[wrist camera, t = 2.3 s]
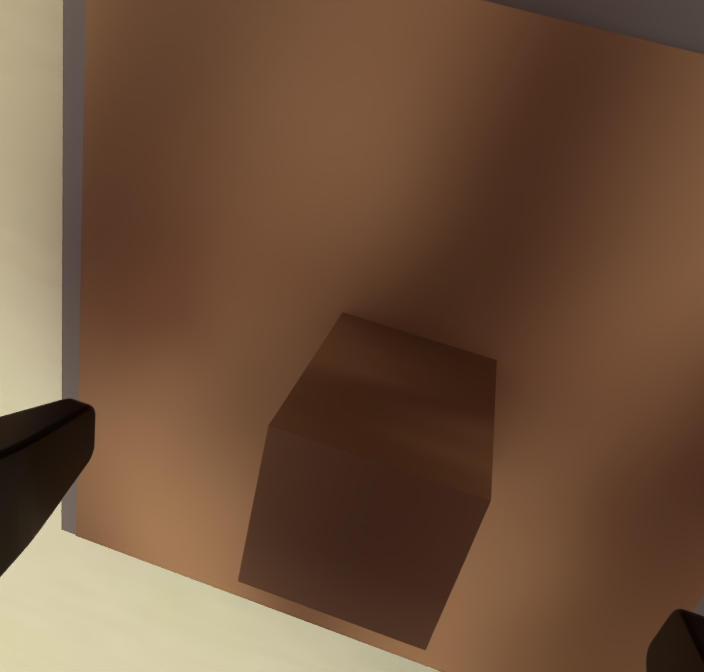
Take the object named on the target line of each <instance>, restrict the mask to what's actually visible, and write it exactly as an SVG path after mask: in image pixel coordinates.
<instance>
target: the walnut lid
mask: <svg viewBox="0 0 704 672" xmlns="http://www.w3.org/2000/svg"><path fill="white" fill-rule="evenodd" d="M78 401H81V402H84V403H87V404H90V405H91V406H92V407H93V408H94V409H95V414H96V419H95V446H94V451H93V454H92V457H91V459H90V461H89V462H88V464H87V465H86V467H85V468H84V469H83V471H82V472H81V474H80V475H79V476H78V478H77V500H76V536H78V537H81V538H84V539H86V540H89V541H92V542H94V543H97V544H100V545H103V546H105V547H108V548H111V549H113V550H116V551H119V552H121V553H124V554H127V555H129V556H132V557H135V558H138V559H140V560H143V561H146V562H148V563H151V564H154V565H156V566H159V567H162V568H164V569H167V570H170V571H172V572H175V573H178V574H181V575H183V576H186V577H189V578H191V579H194V580H197V581H199V582H202V583H205V584H207V585H210V586H213V587H215V588H218V589H221V590H224V591H226V592H229V593H232V594H234V595H237V596H240V597H242V598H245V599H248V600H250V601H253V602H256V603H258V604H261V605H264V606H267V607H269V608H272V609H275V610H277V611H280V612H283V613H285V614H288V615H291V616H293V617H296V618H299V619H301V620H304V621H307V622H310V623H312V624H315V625H318V626H320V627H323V628H326V629H328V630H331V631H334V632H336V633H339V634H342V635H345V636H347V637H350V638H353V639H355V640H358V641H361V642H363V643H366V644H369V645H371V646H374V647H377V648H379V649H382V650H385V651H388V652H390V653H393V654H396V655H398V656H401V657H404V658H406V659H409V660H412V661H414V662H417V663H420V664H422V665H425V666H428V667H431V668H433V669H436V670H439V671H441V672H646V655H647V650H648V647H649V645H650V643H651V641H652V640H653V638H654V637H655V635H656V634H657V633H658V631H659V630H660V628H661V627H662V625H663V624H664V622H665V621H666V620H667V618H668V617H669V615H670V614H671V613H672V612H673V611H674V610H676V609H685V610H687V611H690V612H692V611H693V609H694V608H695V606H696V605H697V604H698V602H699V601H700V600H701V598H702V597H703V595H704V54H700V53H696V52H691V51H687V50H683V49H679V48H675V47H671V46H667V45H663V44H659V43H655V42H651V41H647V40H643V39H638V38H634V37H630V36H626V35H622V34H618V33H614V32H610V31H606V30H602V29H598V28H594V27H590V26H585V25H581V24H577V23H573V22H569V21H565V20H561V19H557V18H553V17H549V16H545V15H541V14H536V13H532V12H528V11H524V10H520V9H516V8H512V7H508V6H504V5H500V4H496V3H492V2H488V1H483V0H86V6H85V61H84V116H83V171H82V226H81V280H80V335H79V390H78Z"/></svg>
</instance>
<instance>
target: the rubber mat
mask: <svg viewBox="0 0 704 672" xmlns="http://www.w3.org/2000/svg"><path fill="white" fill-rule="evenodd" d="M483 1H488V2H492V3H496V4H500V5H504V6H508V7H512V8H516V9H520V10H524V11H528V12H532V13H536V14H541V15H545V16H549V17H553V18H557V19H561V20H565V21H569V22H573V23H577V24H581V25H585V26H590V27H594V28H598V29H602V30H606V31H610V32H614V33H618V34H622V35H626V36H630V37H634V38H638V39H643V40H647V41H651V42H655V43H659V44H663V45H667V46H671V47H675V48H679V49H683V50H687V51H691V52H696V53H700V54H704V0H483ZM85 6H86V0H63V239H62V400H63V399H67V398H71V399H75V400H78V390H79V335H80V280H81V226H82V171H83V116H84V61H85ZM76 500H77V479H76V481H75V482H74V483H73V485H72V486H71V488H70V489H69V490H68V492H67V493H66V495H65V496H64V497H63V499H62V530H65V531H68V532H70V533H73V534H76ZM692 612H693V613H696V614H699V615H702V616H704V595H703V597H702V598H701V600H700V601H699V602H698V604H697V605H696V606H695V608H694V609H693V611H692Z"/></svg>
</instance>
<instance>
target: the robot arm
mask: <svg viewBox="0 0 704 672" xmlns="http://www.w3.org/2000/svg"><path fill="white" fill-rule="evenodd" d="M95 419H96V414H95V409H94V408H93V407H92V406H91V405H90V404H87V403H84V402H81V401H78V400H75V399H71V398H67V399H63V400H59V401H55V402H52V403H48V404H45V405H41V406H37V407H34V408H30V409H26V410H23V411H19V412H16V413H12V414H8V415H5V416H1V417H0V577H1V576H2V574H3V573H4V572H5V571H6V570H7V569H8V568H9V567H10V565H11V564H12V563H13V562H14V561H15V560H16V559H17V558H18V556H19V555H20V554H21V553H22V552H23V551H24V549H25V548H26V547H27V546H28V545H29V544H30V542H31V541H32V540H33V539H34V537H35V536H36V535H37V533H38V532H39V531H40V529H41V528H42V527H43V525H44V524H45V522H46V521H47V520H48V518H49V517H50V515H51V514H52V513H53V511H54V510H55V509H56V507H57V506H58V504H59V503H60V502H61V500H62V499H63V497H64V496H65V495H66V493H67V492H68V490H69V489H70V488H71V486H72V485H73V483H74V482H75V481H76V479H77V478H78V476H79V475H80V474H81V472H82V471H83V469H84V468H85V467H86V465H87V464H88V462H89V461H90V459H91V457H92V454H93V451H94V446H95ZM646 672H704V616H702V615H699V614H696V613H693V612H690V611H687V610H685V609H676V610H674V611H673V612H672V613H671V614H670V615H669V617H668V618H667V620H666V621H665V622H664V624H663V625H662V627H661V628H660V630H659V631H658V633H657V634H656V635H655V637H654V638H653V640H652V641H651V643H650V645H649V647H648V650H647V655H646Z"/></svg>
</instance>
